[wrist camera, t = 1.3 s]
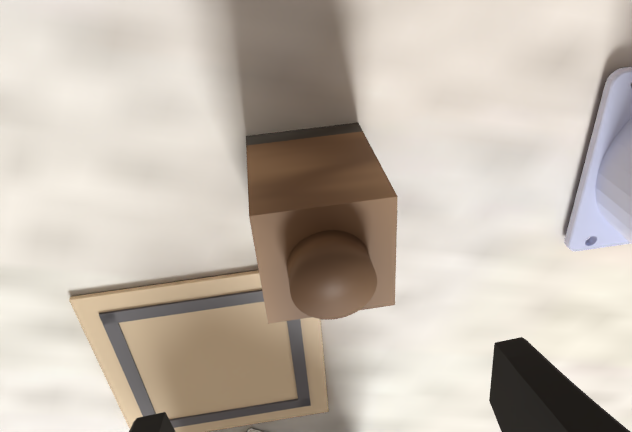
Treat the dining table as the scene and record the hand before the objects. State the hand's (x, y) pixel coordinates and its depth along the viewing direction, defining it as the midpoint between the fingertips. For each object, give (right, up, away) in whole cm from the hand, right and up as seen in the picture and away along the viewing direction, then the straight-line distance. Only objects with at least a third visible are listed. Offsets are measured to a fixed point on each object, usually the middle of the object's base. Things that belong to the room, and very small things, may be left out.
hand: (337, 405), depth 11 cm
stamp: (-1, +6, +8) cm, 10 cm away
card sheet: (-5, -3, +12) cm, 14 cm away
